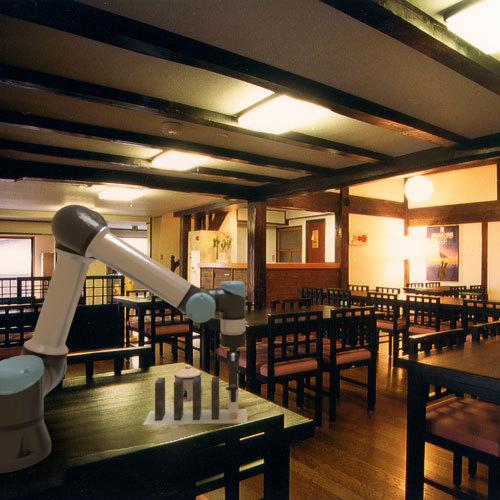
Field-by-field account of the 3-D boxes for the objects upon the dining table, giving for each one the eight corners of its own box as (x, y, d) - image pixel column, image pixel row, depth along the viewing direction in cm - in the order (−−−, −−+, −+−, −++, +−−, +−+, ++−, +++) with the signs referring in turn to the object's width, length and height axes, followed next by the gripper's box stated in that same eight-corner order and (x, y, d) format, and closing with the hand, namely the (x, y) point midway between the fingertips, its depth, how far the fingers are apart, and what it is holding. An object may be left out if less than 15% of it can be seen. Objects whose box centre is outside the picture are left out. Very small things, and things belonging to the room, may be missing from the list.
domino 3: (192, 420, 114) (192, 382, 114) (194, 413, 119) (194, 377, 119) (199, 419, 114) (199, 382, 114) (201, 413, 119) (201, 377, 119)
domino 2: (173, 420, 114) (173, 382, 114) (176, 413, 119) (176, 377, 119) (180, 420, 114) (180, 382, 114) (183, 413, 119) (183, 377, 119)
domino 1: (155, 420, 114) (154, 382, 114) (158, 413, 119) (158, 377, 119) (161, 420, 114) (161, 382, 114) (165, 413, 119) (165, 377, 119)
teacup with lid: (169, 399, 133) (169, 365, 133) (190, 392, 140) (190, 360, 140) (190, 409, 125) (190, 372, 125) (212, 401, 131) (212, 366, 132)
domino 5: (237, 412, 119) (237, 376, 119) (237, 419, 114) (237, 381, 114) (230, 412, 119) (230, 376, 119) (230, 419, 114) (230, 381, 114)
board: (142, 428, 111) (142, 424, 111) (150, 414, 121) (150, 410, 121) (247, 426, 112) (247, 422, 112) (246, 412, 122) (246, 409, 122)
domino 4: (211, 419, 114) (211, 382, 114) (212, 412, 119) (212, 376, 119) (218, 419, 114) (218, 381, 114) (219, 412, 119) (219, 376, 119)
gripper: (246, 341, 105) (247, 420, 104) (245, 325, 130) (245, 389, 129) (218, 341, 105) (219, 421, 104) (222, 325, 130) (223, 389, 129)
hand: (233, 403), depth 117 cm, fingers open, 13 cm apart
